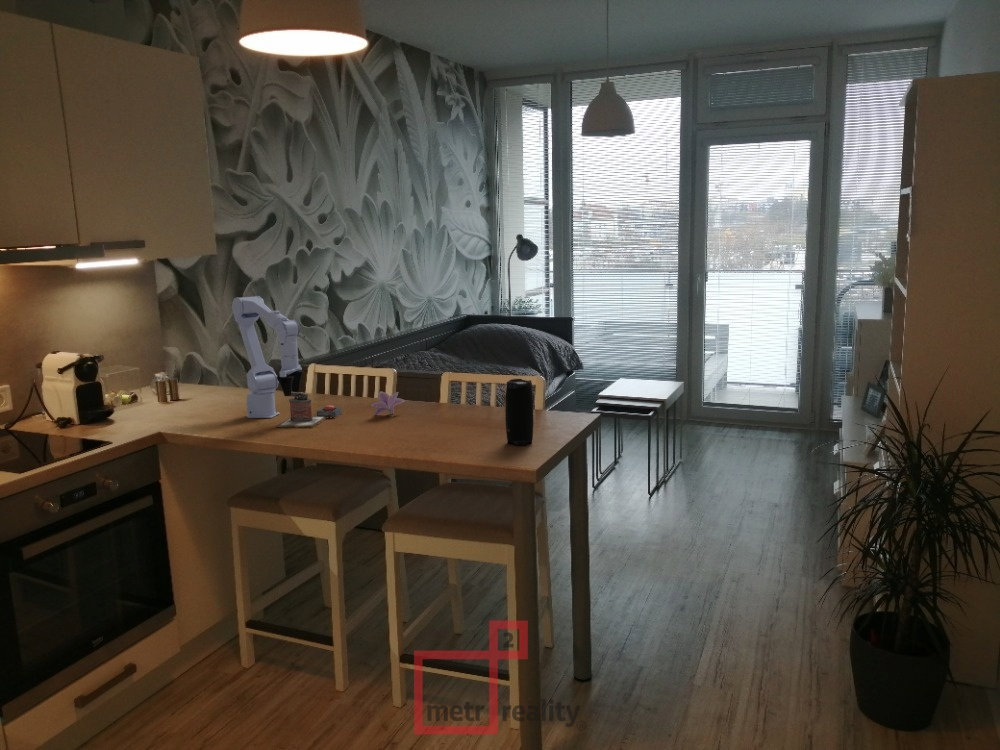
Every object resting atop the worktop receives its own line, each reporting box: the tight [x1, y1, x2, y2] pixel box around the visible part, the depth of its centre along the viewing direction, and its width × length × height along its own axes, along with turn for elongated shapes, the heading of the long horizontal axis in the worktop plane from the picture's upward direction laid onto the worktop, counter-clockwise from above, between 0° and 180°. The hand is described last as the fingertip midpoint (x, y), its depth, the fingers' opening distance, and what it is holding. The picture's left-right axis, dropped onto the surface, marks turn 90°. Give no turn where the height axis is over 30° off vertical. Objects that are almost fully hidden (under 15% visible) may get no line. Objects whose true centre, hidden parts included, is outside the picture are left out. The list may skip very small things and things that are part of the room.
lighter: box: [288, 391, 313, 422], centre depth 276 cm, size 8×3×10 cm, turn 79°
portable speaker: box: [504, 378, 535, 447], centre depth 242 cm, size 9×9×20 cm
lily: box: [370, 390, 406, 418], centre depth 283 cm, size 12×12×10 cm
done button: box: [323, 404, 335, 411], centre depth 286 cm, size 4×4×2 cm
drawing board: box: [276, 415, 328, 428], centre depth 276 cm, size 13×15×1 cm
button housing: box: [316, 406, 343, 418], centre depth 286 cm, size 7×7×2 cm
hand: (291, 393), depth 275 cm, fingers open, 7 cm apart
